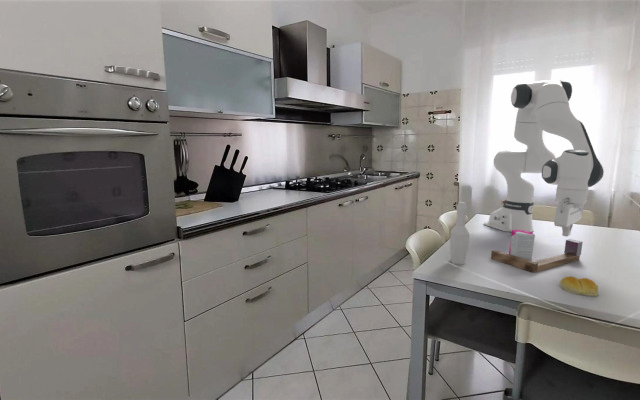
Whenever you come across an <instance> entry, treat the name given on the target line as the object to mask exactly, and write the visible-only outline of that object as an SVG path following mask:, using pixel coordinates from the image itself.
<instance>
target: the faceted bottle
mask: <svg viewBox="0 0 640 400" xmlns="http://www.w3.org/2000/svg"><path fill="white" fill-rule="evenodd" d="M467 210H468V207H467V203H466V201H458V203H457V205H456V221H455V223H456V224H455V225H454V226H453V227H452V228H451V230H450V234H449V235H450V236H449V251H450V262H451V263H452V264H454V265H464V264H465V262H466V259H467V254H468V249H469V242H470V232H469V230H468V228H467V227H466V216H467Z"/></svg>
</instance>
